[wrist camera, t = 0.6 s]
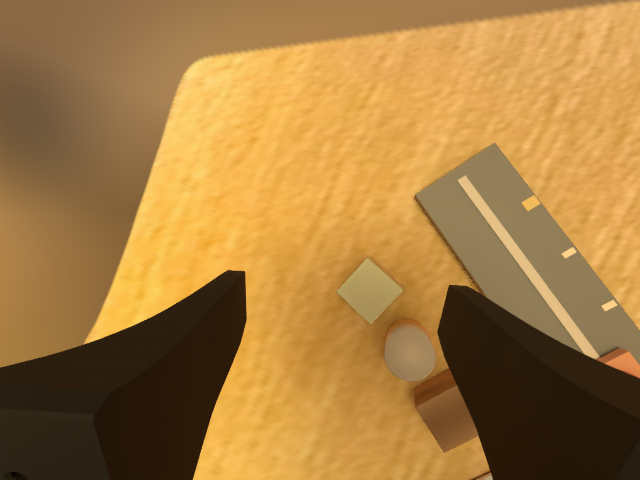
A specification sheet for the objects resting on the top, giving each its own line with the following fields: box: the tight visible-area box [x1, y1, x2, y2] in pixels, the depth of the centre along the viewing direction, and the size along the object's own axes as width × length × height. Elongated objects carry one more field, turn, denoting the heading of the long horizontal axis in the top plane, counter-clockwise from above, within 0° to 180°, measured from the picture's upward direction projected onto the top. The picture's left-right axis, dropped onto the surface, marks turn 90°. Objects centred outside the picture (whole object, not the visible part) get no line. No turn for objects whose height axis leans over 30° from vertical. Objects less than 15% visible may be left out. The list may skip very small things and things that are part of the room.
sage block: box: [336, 257, 403, 325], centre depth 30 cm, size 4×4×4 cm
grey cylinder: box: [384, 319, 436, 382], centre depth 29 cm, size 4×4×5 cm
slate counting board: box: [415, 143, 640, 365], centre depth 28 cm, size 24×8×2 cm, turn 33°
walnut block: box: [413, 369, 479, 453], centre depth 29 cm, size 4×4×4 cm
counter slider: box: [597, 348, 640, 378], centre depth 24 cm, size 4×4×5 cm
